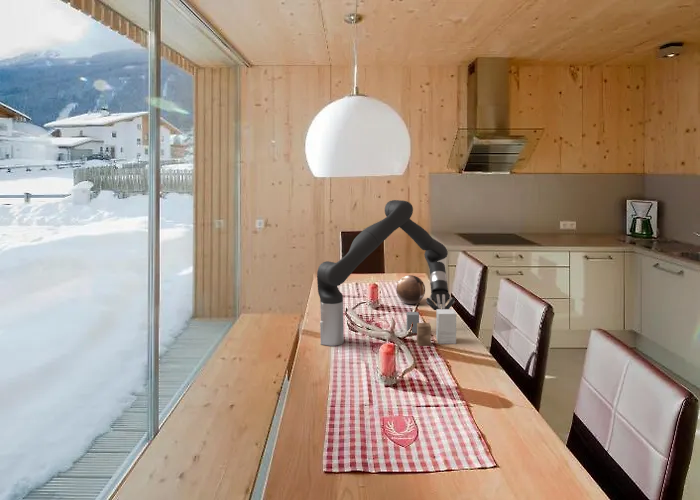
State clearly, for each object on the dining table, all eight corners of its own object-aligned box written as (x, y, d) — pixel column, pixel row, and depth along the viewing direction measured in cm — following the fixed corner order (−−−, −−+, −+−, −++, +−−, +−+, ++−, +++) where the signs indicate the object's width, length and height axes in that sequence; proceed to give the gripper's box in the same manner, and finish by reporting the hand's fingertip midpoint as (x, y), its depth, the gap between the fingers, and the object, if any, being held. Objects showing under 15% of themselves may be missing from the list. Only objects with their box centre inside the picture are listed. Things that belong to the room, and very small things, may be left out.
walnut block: (418, 345, 211) (418, 326, 210) (416, 341, 216) (417, 322, 215) (430, 345, 211) (430, 326, 210) (429, 341, 216) (429, 322, 215)
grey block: (407, 333, 228) (407, 314, 227) (406, 329, 233) (406, 311, 232) (419, 332, 228) (419, 314, 227) (417, 329, 233) (417, 311, 231)
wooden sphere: (390, 302, 281) (390, 274, 278) (414, 298, 288) (414, 271, 285) (406, 308, 268) (406, 279, 265) (430, 304, 275) (431, 276, 272)
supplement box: (453, 338, 220) (454, 308, 218) (456, 344, 212) (456, 313, 211) (435, 338, 220) (436, 308, 218) (437, 344, 213) (438, 313, 211)
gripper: (424, 279, 233) (427, 313, 223) (454, 278, 232) (459, 313, 222) (423, 288, 239) (426, 322, 229) (452, 288, 238) (456, 322, 228)
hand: (442, 318), depth 225 cm, fingers closed
